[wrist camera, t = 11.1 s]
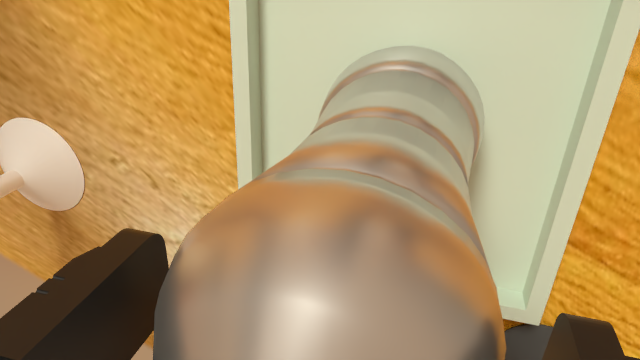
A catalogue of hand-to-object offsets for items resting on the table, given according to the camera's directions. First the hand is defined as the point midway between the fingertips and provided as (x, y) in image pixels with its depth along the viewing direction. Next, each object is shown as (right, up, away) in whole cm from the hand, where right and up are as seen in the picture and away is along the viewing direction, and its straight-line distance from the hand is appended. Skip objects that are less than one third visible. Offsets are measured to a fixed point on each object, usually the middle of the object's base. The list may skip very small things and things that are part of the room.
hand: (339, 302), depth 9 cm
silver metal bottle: (+4, +6, +12) cm, 14 cm away
